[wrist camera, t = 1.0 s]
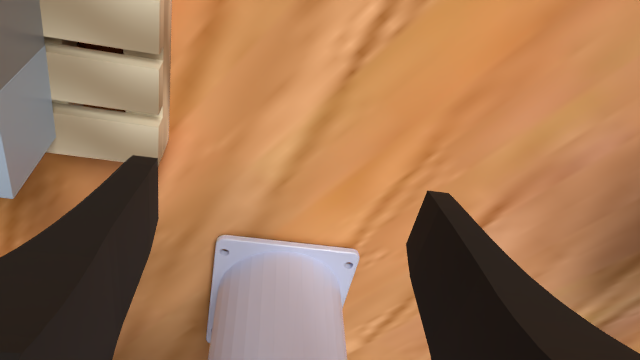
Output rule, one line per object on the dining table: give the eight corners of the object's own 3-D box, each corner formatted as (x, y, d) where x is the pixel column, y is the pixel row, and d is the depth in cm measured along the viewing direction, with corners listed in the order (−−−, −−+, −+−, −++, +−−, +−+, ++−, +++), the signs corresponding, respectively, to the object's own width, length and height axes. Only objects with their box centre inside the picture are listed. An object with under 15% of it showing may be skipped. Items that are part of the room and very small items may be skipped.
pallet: (169, 136, 24) (158, 168, 22) (-37, 107, 23) (-70, 139, 20) (175, -97, 18) (160, -84, 16) (-104, -156, 17) (-160, -149, 15)
